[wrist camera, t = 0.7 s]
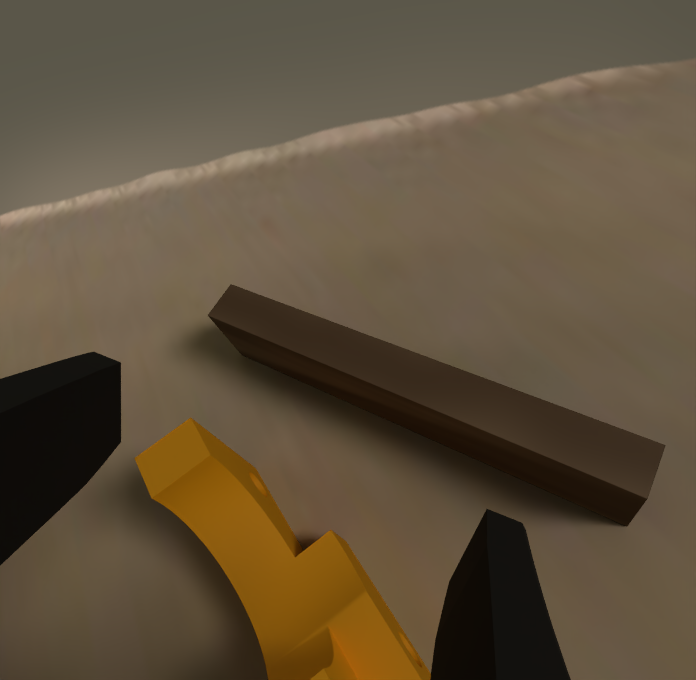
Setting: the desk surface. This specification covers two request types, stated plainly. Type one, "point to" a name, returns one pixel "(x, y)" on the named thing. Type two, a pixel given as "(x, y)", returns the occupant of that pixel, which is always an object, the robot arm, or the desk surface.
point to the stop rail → (449, 405)
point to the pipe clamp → (279, 567)
